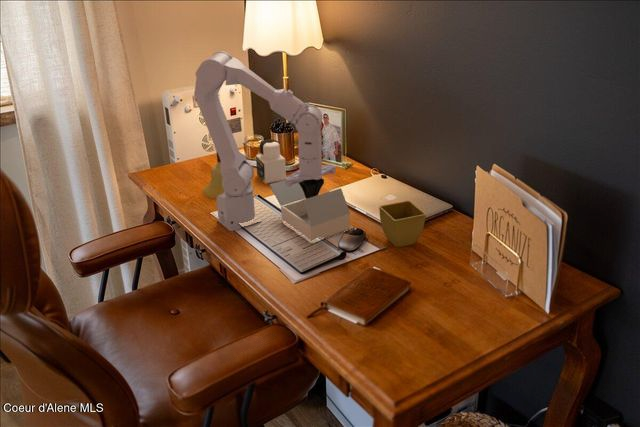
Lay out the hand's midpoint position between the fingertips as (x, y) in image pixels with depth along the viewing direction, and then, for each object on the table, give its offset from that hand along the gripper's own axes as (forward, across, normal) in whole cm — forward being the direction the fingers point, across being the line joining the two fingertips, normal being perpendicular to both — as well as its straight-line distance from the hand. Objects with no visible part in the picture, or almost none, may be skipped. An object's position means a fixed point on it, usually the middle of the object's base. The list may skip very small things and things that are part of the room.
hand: (311, 204), depth 154 cm
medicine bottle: (+6, +7, +33) cm, 34 cm away
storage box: (+6, 0, -2) cm, 6 cm away
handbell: (+6, -9, +34) cm, 36 cm away
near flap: (-2, 0, -7) cm, 7 cm away
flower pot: (+6, +13, -21) cm, 25 cm away
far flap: (-1, 0, +8) cm, 8 cm away
